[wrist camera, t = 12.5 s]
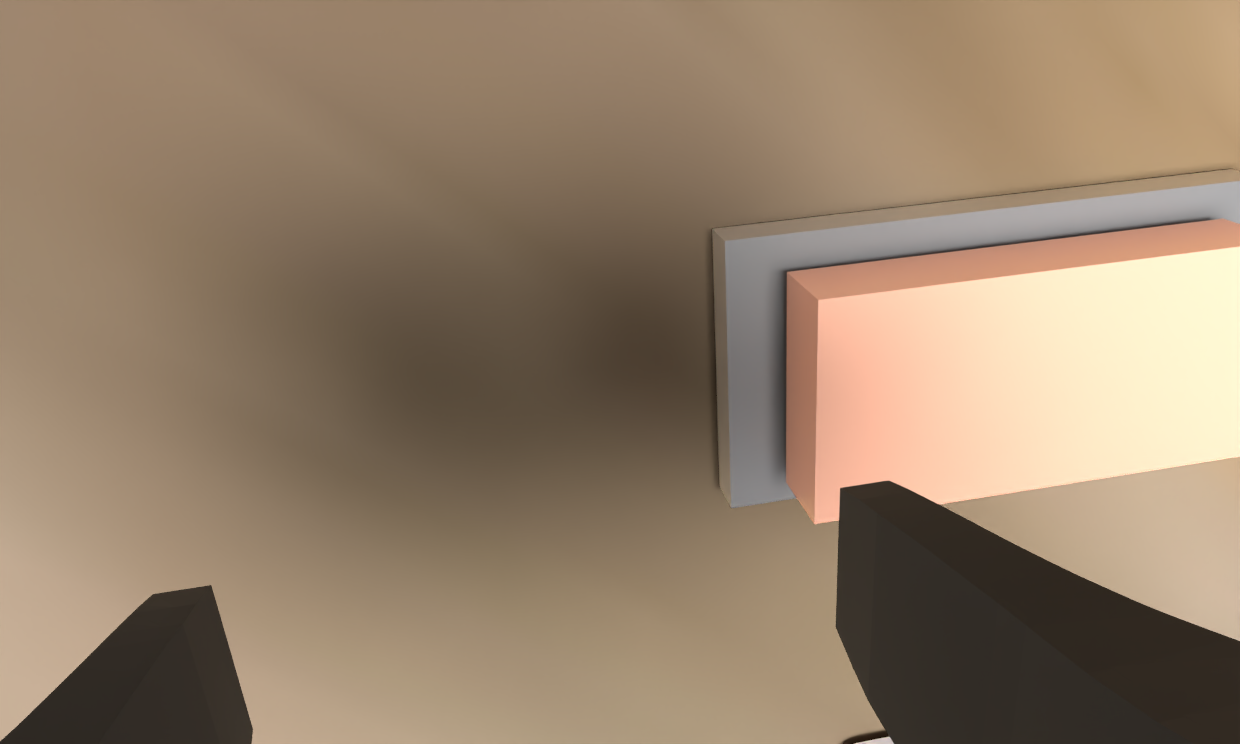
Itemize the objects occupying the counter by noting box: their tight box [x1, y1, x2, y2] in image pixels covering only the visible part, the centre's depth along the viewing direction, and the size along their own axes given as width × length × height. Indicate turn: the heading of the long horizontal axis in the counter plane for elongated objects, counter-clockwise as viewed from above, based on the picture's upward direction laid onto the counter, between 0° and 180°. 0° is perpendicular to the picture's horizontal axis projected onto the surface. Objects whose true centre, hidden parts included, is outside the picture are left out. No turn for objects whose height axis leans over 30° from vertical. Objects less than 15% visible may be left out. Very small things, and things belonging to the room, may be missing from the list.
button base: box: [712, 169, 1240, 508], centre depth 22 cm, size 6×12×1 cm, turn 94°
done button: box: [786, 219, 1240, 524], centre depth 21 cm, size 5×10×2 cm, turn 94°
